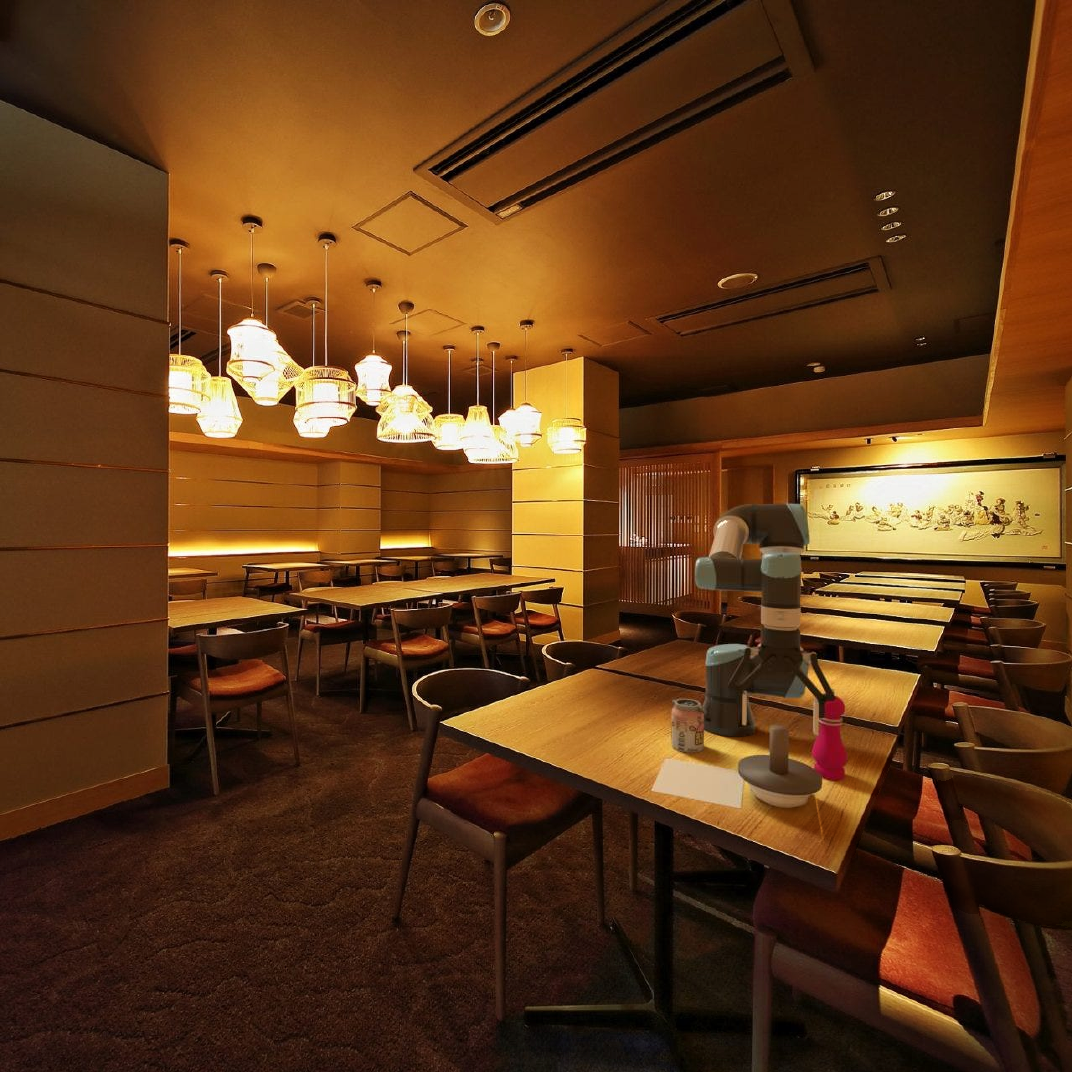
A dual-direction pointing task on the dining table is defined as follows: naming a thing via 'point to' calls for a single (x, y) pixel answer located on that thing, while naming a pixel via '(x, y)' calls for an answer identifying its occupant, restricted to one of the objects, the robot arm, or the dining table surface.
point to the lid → (779, 768)
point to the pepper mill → (830, 743)
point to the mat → (700, 782)
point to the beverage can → (687, 726)
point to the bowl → (779, 798)
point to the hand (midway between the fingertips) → (779, 728)
